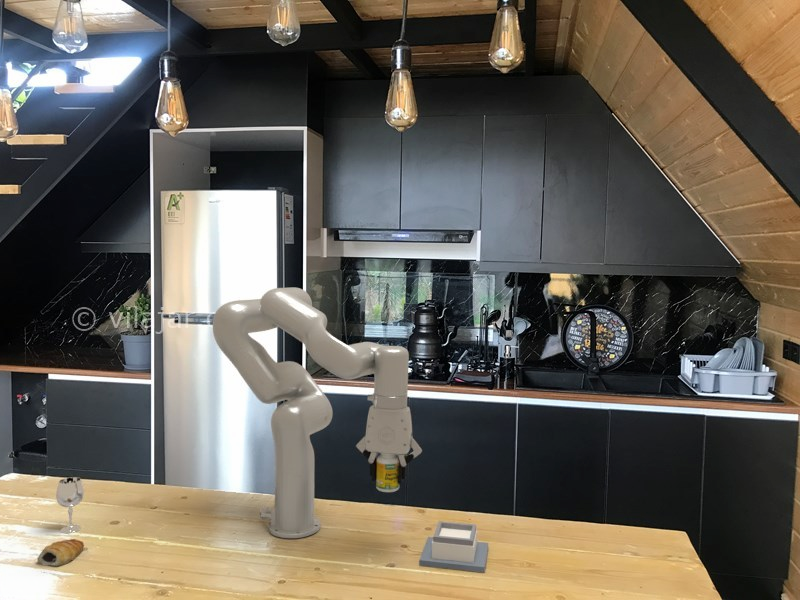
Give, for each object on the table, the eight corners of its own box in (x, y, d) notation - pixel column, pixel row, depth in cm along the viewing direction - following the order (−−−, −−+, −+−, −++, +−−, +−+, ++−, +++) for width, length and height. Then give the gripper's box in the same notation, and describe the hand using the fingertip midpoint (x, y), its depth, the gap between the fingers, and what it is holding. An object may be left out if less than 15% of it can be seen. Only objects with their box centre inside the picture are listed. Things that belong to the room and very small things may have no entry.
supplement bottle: (391, 482, 146) (392, 442, 145) (404, 490, 142) (405, 448, 141) (371, 486, 143) (372, 445, 142) (383, 494, 139) (385, 451, 138)
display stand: (419, 565, 135) (419, 538, 135) (427, 541, 147) (428, 517, 147) (484, 572, 133) (485, 545, 132) (488, 547, 144) (488, 522, 144)
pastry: (66, 546, 143) (66, 530, 143) (92, 550, 141) (92, 533, 141) (34, 565, 134) (34, 548, 133) (61, 569, 132) (61, 551, 132)
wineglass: (82, 532, 150) (82, 483, 149) (55, 535, 148) (54, 485, 147) (85, 523, 155) (84, 475, 154) (58, 526, 153) (57, 477, 152)
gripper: (349, 402, 139) (346, 482, 140) (425, 408, 136) (422, 490, 137) (358, 395, 146) (355, 471, 148) (430, 400, 143) (427, 478, 144)
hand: (387, 479), depth 142 cm, fingers closed on supplement bottle, 5 cm apart
